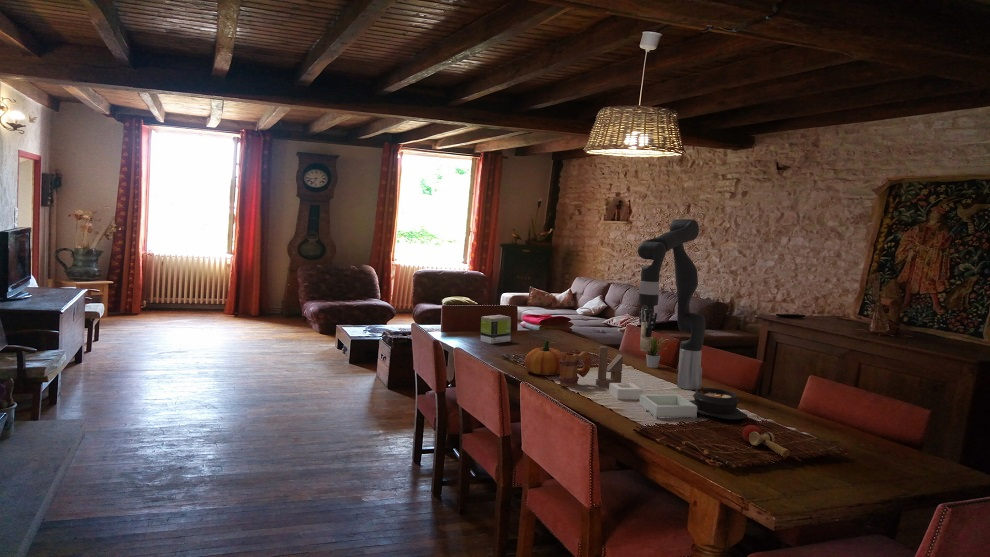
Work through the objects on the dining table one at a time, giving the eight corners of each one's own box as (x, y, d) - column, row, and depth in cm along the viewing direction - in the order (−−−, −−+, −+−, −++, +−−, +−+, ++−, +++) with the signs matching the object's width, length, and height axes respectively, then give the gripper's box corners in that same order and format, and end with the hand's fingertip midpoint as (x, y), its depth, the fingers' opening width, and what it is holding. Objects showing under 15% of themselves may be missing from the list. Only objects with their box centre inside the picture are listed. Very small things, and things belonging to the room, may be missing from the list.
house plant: (675, 369, 321) (677, 337, 320) (651, 371, 316) (653, 338, 315) (657, 363, 335) (659, 332, 333) (635, 364, 329) (637, 333, 328)
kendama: (796, 460, 205) (754, 434, 221) (797, 443, 203) (755, 418, 219) (776, 467, 202) (736, 440, 218) (777, 449, 200) (737, 424, 217)
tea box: (499, 338, 385) (500, 314, 383) (510, 341, 377) (511, 316, 376) (479, 341, 375) (480, 315, 374) (490, 344, 367) (491, 318, 366)
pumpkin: (520, 375, 296) (522, 343, 295) (528, 366, 315) (529, 336, 313) (562, 379, 292) (564, 346, 290) (567, 370, 310) (569, 339, 309)
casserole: (673, 408, 254) (674, 387, 253) (706, 403, 263) (707, 382, 262) (724, 426, 232) (726, 404, 232) (758, 420, 242) (760, 398, 241)
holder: (631, 394, 270) (632, 383, 270) (640, 401, 261) (641, 389, 260) (608, 394, 269) (609, 383, 268) (617, 401, 259) (617, 389, 258)
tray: (677, 405, 257) (678, 394, 256) (696, 418, 241) (697, 406, 241) (639, 405, 254) (640, 394, 254) (655, 418, 238) (656, 406, 238)
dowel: (647, 349, 258) (649, 321, 257) (651, 351, 254) (653, 323, 253) (638, 349, 257) (640, 321, 256) (641, 351, 253) (643, 323, 252)
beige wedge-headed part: (621, 387, 281) (623, 347, 280) (599, 389, 278) (602, 347, 276) (616, 385, 285) (619, 345, 283) (595, 386, 281) (597, 346, 279)
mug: (561, 389, 275) (563, 354, 273) (554, 384, 283) (556, 350, 281) (593, 388, 279) (595, 353, 277) (585, 383, 287) (587, 349, 285)
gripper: (665, 295, 247) (662, 339, 248) (651, 291, 261) (648, 333, 262) (646, 294, 246) (643, 339, 247) (633, 290, 260) (630, 332, 261)
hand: (646, 335), depth 255 cm, fingers closed on dowel, 4 cm apart
